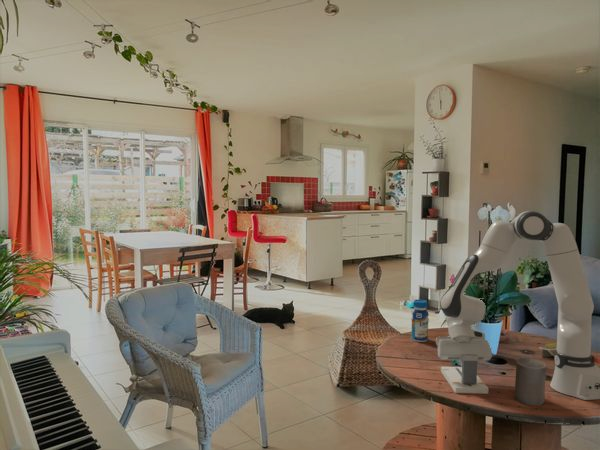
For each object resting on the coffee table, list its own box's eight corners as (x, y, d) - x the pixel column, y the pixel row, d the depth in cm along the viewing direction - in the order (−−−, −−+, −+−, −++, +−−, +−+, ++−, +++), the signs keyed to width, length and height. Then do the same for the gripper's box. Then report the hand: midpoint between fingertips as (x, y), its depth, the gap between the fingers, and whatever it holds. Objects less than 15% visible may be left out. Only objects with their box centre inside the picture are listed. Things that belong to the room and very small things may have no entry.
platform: (577, 360, 207) (578, 346, 207) (545, 364, 202) (545, 350, 202) (555, 351, 219) (556, 338, 218) (524, 355, 214) (525, 341, 213)
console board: (470, 371, 193) (470, 366, 193) (488, 393, 172) (488, 388, 172) (440, 371, 193) (440, 366, 193) (455, 392, 172) (455, 387, 172)
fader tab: (475, 382, 176) (476, 354, 176) (477, 384, 174) (478, 356, 174) (460, 381, 177) (461, 354, 176) (462, 383, 175) (463, 355, 174)
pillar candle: (509, 394, 171) (510, 354, 170) (534, 393, 172) (536, 354, 171) (523, 406, 162) (525, 365, 160) (550, 405, 162) (552, 364, 161)
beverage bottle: (417, 336, 240) (418, 298, 239) (431, 340, 234) (432, 301, 233) (407, 339, 235) (408, 300, 234) (421, 343, 229) (422, 303, 227)
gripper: (436, 332, 184) (442, 365, 175) (488, 333, 183) (497, 366, 174) (433, 340, 189) (438, 372, 180) (484, 340, 188) (492, 373, 179)
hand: (468, 369), depth 177 cm, fingers closed, pressing on fader tab
